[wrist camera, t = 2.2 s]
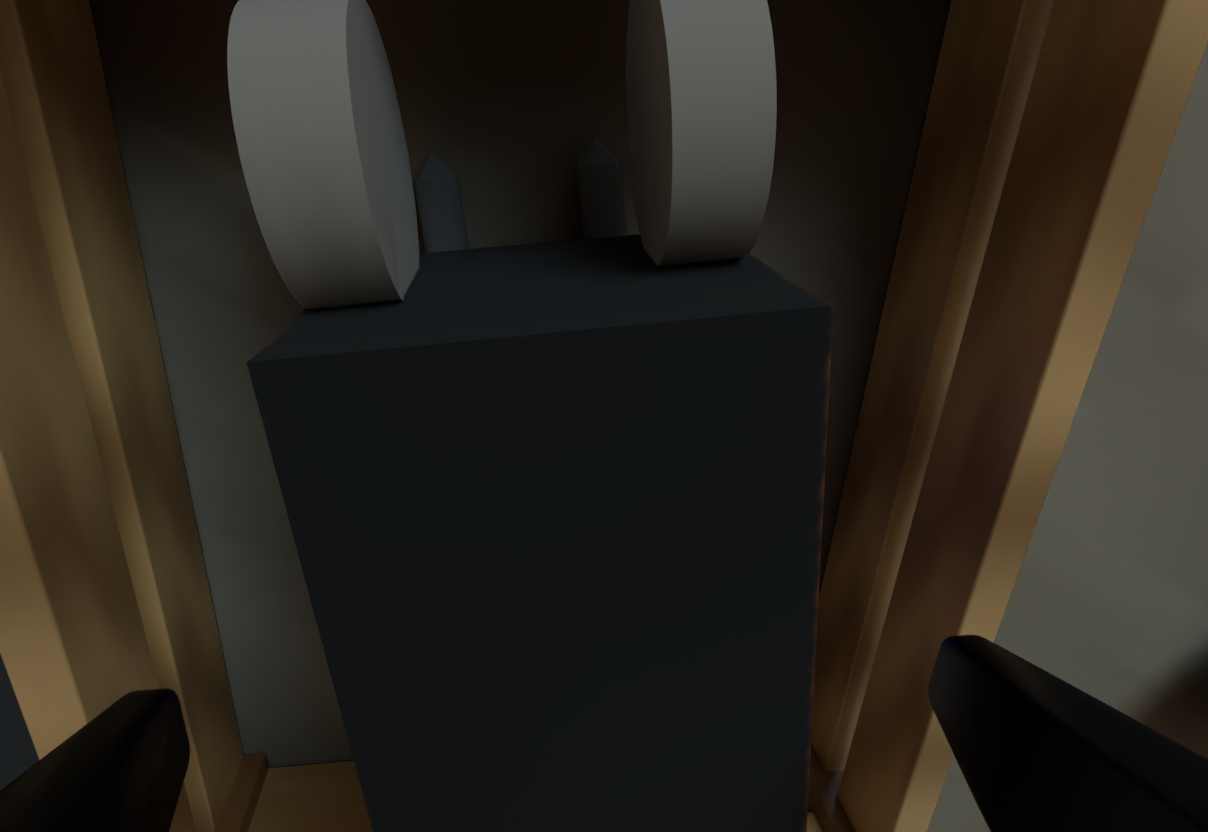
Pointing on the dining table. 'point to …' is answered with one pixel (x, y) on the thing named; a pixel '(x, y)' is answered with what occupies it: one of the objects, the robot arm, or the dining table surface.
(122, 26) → the dining table surface
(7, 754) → the mat
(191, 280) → the dining table surface
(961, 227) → the crate
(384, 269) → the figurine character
